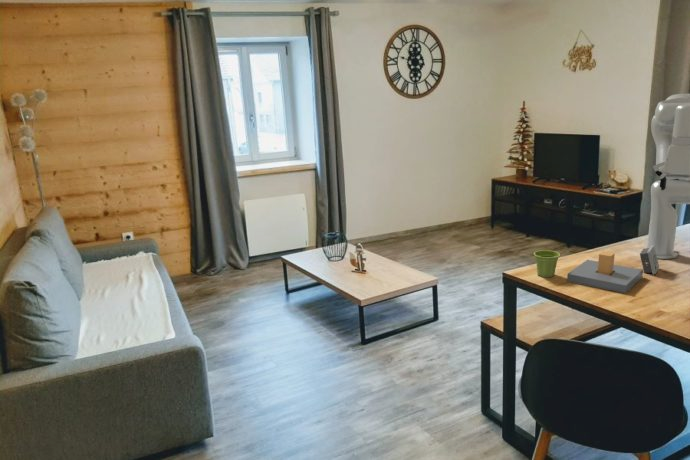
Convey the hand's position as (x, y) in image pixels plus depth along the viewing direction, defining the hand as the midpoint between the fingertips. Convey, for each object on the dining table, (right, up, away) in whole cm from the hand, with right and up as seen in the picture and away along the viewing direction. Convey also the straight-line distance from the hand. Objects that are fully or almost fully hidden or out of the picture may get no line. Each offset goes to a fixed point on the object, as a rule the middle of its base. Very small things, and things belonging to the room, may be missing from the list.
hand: (678, 190), depth 181 cm
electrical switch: (+1, -30, +19) cm, 35 cm away
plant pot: (-39, -31, +20) cm, 54 cm away
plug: (-20, -32, +13) cm, 40 cm away
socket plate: (-20, -32, +13) cm, 40 cm away
